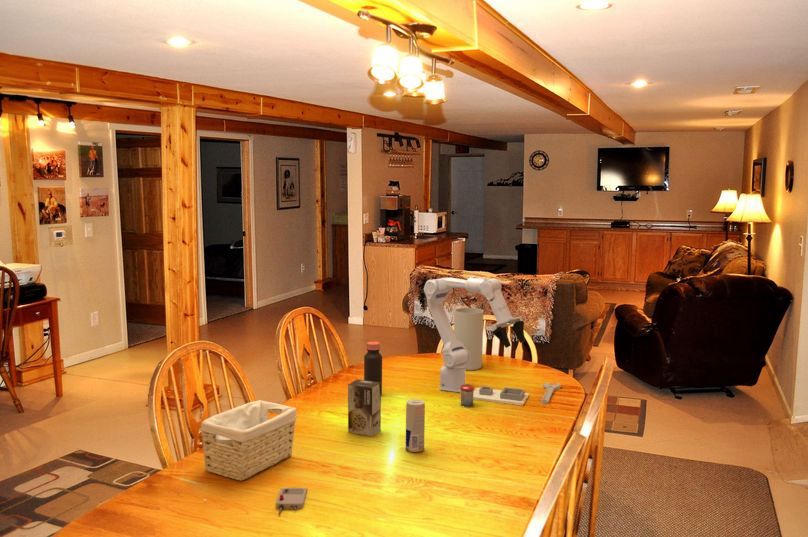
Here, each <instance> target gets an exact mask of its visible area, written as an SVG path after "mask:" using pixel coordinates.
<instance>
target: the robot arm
mask: <svg viewBox="0 0 808 537" xmlns="http://www.w3.org/2000/svg"><path fill="white" fill-rule="evenodd" d="M502 288H503V287H502V283H501V281H500V280H499V279H497V278H495V277H493V278H491V279H488V277H481V278H480V277H478V276H476V275H472V276H471V277H468V279H463V278H455V277H442V278H436V279H435V278H434V279H428V280H427V281H426V282H425V284H424V287H423V291H424V295H425V297H426V304H427V307H428V310H429V311H430V312H429V313H430V314H431V317H432V320H433V322H434V325H435V327H436V328H437V331H438V334H439V336H440V338H441V342H442V344H443V347H442V349H441V354H442V361H443V363H444V365H441V368H440V373H439V374H440V376H439V382H440V383H439V390H440V391H445V392H455V393H461V389H460V386H461V385H465V384H466V370H465V369H466V364H467V363H468V361H469V359H470V355H469V352H468V351H467V350H466V349H465V347H464V345H463V344H462V343H461V342H459V341H458V340H457V338H456V336H455V334H454V328H453V327H452V325H451V322H450V320H449V316H448V315H447V313H446V310H445V308H444V306H443V302H444V300H445V299H446V297H447V296H448V294H449V293H450V292H451V290H452V289H465V290H466V291H467V292H468V293H472V294H480V295H482V296H484V297H485V298H486V300H487V301H488V304H489V306H490V308H491V311H492V313H493V315H494V318H495V320H496V323H494V324H490V325H489V328H490V330H491V331H492V335H493V336H494V337H496V338H497V339H498V340H499V341H500V342H501V344H502V345H503V346H504V348H505V349H507V348H509V347H511V345H512V344H511V342H510V339H509V337H508V332H507V327H509V326H511V327H510V329H511V330H512V332H513V333H514V334H515V336H516V338H517V339H518V341H519V344H522V343H524V342H526V339H525V332H524V331H525V330H524V328H525V326H524V324H525V321H524V320H523V318H522V316H521V315H520V316H515V317H514V316H513V315H512V313H511V311H510V309H509V306H508V304H507V302H506V299H505V297H504V295H503V293H502ZM453 350H454V351H453Z"/></svg>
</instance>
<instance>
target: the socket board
mask: <svg viewBox="0 0 808 537" xmlns="http://www.w3.org/2000/svg"><path fill="white" fill-rule="evenodd" d="M525 391H526V390H525V389H522V388H521V389H520V388H514V387H513V388H512V387H503V389H502V390H501V389H494V387H492V386H485V385H484V386H483V385H482V386H480V387H476V388H474V393H473V399H474V400H473V401H480V400H483V401H482V402H488V401H491V403H496V402H497V404H504V403H506V404H505V405H512V404H514V405H513V406H521V405H522V407H523V406H524V405H523V404H525V403H526V402H527V400H526V399H528V397H529V396H530V393H527V392H526V393H525Z"/></svg>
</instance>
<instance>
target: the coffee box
mask: <svg viewBox="0 0 808 537" xmlns="http://www.w3.org/2000/svg"><path fill="white" fill-rule="evenodd" d="M381 397H382V395H381V383H380V382H373V381H366V380H364V379H358V378H357V379H355V380H353V381H351V382H349V383H348V384H347V432H348V433H349V434H350V433H351V434H357V435H362V436H367V437H374V436H375V435H377V434H379V432H381V430H382V428H381V425H382V424H381V422H382V421H381V420H382V419H381V418H382V415H381V414H382V411H381V410H382V408H381V405H382V401H381V399H382V398H381Z"/></svg>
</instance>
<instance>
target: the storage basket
mask: <svg viewBox="0 0 808 537" xmlns="http://www.w3.org/2000/svg"><path fill="white" fill-rule="evenodd" d="M269 413H270V414H276V416H274V417H272V418H270V419H269ZM296 421H297V408H296V407H294V406H289V405H284V404H279V403H274V402H270V401H266V400H260V399H259V400H256V401H251V402H247V403H245V404H242V405H239V406H236V407H234V408H231V409H228V410H226V411H224V412H220V413H217V414H215V415H211V416H210V417H208V418H206V419H204V420H202V422H201V424H200V430H201V433H200V434H201V437H202V445H203V446H202V447H203V457H204V459H203V460H204V468H205V470H206V471H207V472H209V473H212V474H217V475H219V476H223V477H225V478H229V479H232V480H237V481H244V480H247V479H249V478H251V477H252V476H254V475H257V474H258V473H260V472H262V471H264V470H265V469H268V468H271V467H272V466H275V465H276V464H277V463H280V462H281V461H283V460H285V459H287V458H289V457H290V456H292V454H293V445H294V439H295V438H294V436H295V427H296Z"/></svg>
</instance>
